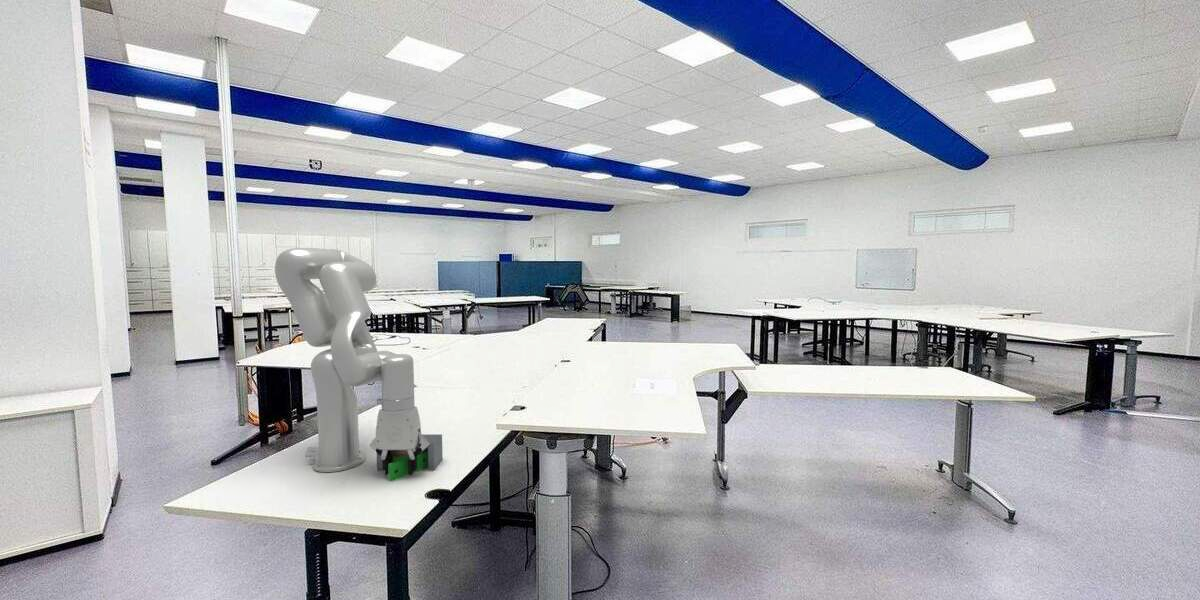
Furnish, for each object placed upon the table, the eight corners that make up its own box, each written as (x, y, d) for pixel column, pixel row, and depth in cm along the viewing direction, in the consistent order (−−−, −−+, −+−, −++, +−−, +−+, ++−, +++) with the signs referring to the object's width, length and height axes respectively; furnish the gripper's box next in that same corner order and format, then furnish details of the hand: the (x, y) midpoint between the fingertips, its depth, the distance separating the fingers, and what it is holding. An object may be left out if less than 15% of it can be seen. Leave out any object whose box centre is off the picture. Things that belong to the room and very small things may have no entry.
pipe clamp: (421, 463, 126) (420, 447, 126) (429, 466, 124) (429, 450, 124) (382, 478, 117) (382, 460, 117) (391, 482, 115) (390, 464, 115)
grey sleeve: (377, 470, 121) (376, 443, 120) (388, 460, 128) (387, 434, 127) (434, 470, 121) (433, 443, 121) (442, 460, 128) (442, 434, 127)
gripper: (357, 407, 113) (359, 479, 114) (426, 408, 113) (428, 479, 114) (371, 399, 120) (373, 466, 122) (437, 399, 121) (438, 466, 122)
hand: (400, 472), depth 118 cm, fingers open, 5 cm apart
